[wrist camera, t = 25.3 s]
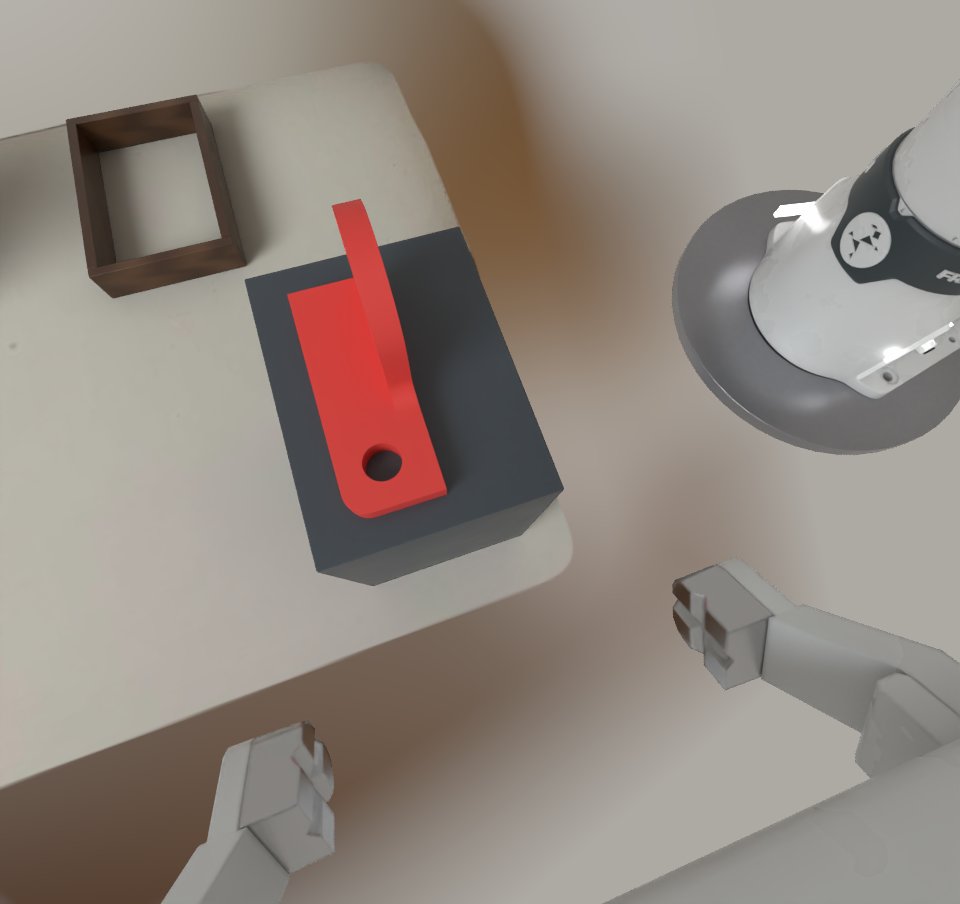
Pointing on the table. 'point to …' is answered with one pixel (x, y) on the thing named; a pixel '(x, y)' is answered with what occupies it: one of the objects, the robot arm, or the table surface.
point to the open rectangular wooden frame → (99, 250)
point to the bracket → (365, 378)
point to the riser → (444, 405)
